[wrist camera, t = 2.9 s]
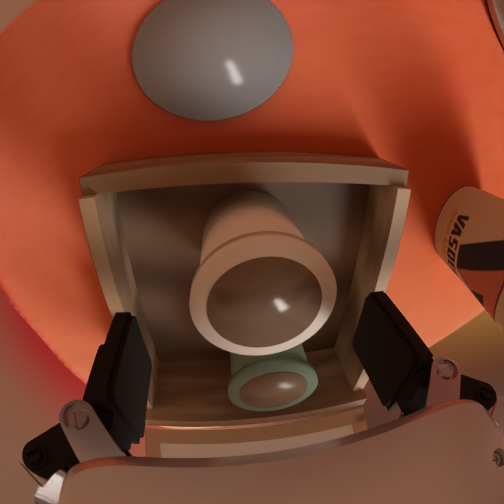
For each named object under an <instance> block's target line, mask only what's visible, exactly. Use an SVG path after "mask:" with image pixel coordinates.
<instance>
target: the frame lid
mask: <svg viewBox="0 0 504 504" xmlns="http://www.w3.org/2000/svg"><path fill="white" fill-rule="evenodd" d="M364 430H368V428H367V423H366V419H365V414H364V410H363V408H360V409H357V410H352V411H348V412H345V413H340V414H336V415H331V416H327V417H322V418H317V419H312V420H306V421H300V422H294V423H288V424H281V425H273V426H264V427H254V428H243V429H227V430H164V429H148V428H145V451H146V457H158V458H212V457H229V456H241V455H251V454H260V453H267V452H274V451H281V450H287V449H292V448H298V447H303V446H308V445H312V444H317V443H321V442H325V441H329V440H333V439H337V438H341V437H344V436H348V435H351V434H355V433H358V432H361V431H364Z"/></svg>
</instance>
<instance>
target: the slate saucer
mask: <svg viewBox="0 0 504 504" xmlns="http://www.w3.org/2000/svg"><path fill="white" fill-rule="evenodd" d="M292 57H293V39H292V35H291V31H290V28H289V26H288V23H287V21H286V20H285V18H284V16H283V15H282V13H281V12H280V11H279V10H278V8H277V7H276V6H275V5H274V4H273V3H271V2H270V1H269V0H163V1H162V2H161V3H159V4H158V5H157V6H156V7H155V8H154V9H153V10H152V11H151V12H150V13H149V14H148V15H147V17H146V18H145V19H144V20H143V22H142V24H141V25H140V27H139V29H138V31H137V34H136V36H135V39H134V43H133V49H132V65H133V70H134V74H135V77H136V79H137V82H138V83H139V85H140V87H141V89H142V90H143V91H144V93H145V94H146V95H147V96H148V97H149V98H150V99H151V100H152V101H153V102H154V103H155V104H156V105H158V106H159V107H161V108H162V109H164V110H166V111H168V112H170V113H172V114H174V115H177V116H180V117H184V118H188V119H193V120H204V121H212V120H222V119H227V118H231V117H235V116H238V115H241V114H244V113H246V112H248V111H250V110H252V109H254V108H256V107H257V106H259V105H261V104H262V103H263V102H265V101H266V100H267V99H268V98H270V97H271V96H272V95H273V94H274V93H275V92H276V91H277V89H278V88H279V87H280V85H281V84H282V83H283V81H284V79H285V77H286V76H287V74H288V71H289V69H290V66H291V62H292Z"/></svg>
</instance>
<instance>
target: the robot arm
mask: <svg viewBox="0 0 504 504" xmlns="http://www.w3.org/2000/svg"><path fill="white" fill-rule="evenodd" d="M487 3H488V8H489V11H490V15H491V18H492V21H493V23H494V26H495V29H496V31H497V34H498V36H499V39H500V41H501V43H502V45H503V47H504V0H487ZM352 346H353V349H354V351H355V353H356V354H357V356H358V358H359V360H360V362H361V364H362V366H363V368H364V370H365V372H366V374H367V375H368V377H369V379H370V381H371V383H372V385H373V387H374V389H375V391H376V393H377V395H378V397H379V399H380V401H381V403H382V405H383V406H386V407H387V409H388V411H390V410H393V409H396V408H398V407H400V409H401V414H400V418H399V419H396V420H393V421H390V422H388V423H385V424H382V425H380V426H377V427H374V428H371V429H368V430H364V431H361V432H358V433H355V434H351V435H348V436H344V437H341V438H337V439H333V440H329V441H325V442H321V443H317V444H312V445H308V446H303V447H298V448H292V449H287V450H281V451H274V452H267V453H260V454H251V455H241V456H229V457H212V458H158V457H134V456H133V455H132V454H131V453H130V451H129V450H130V448H131V443H134V444H139V441H140V437H141V438H142V437H144V431H145V420H146V410H147V401H148V393H149V385H150V378H151V371H152V362H151V359H150V356H149V353H148V351H147V348H146V345H145V342H144V339H143V337H142V334H141V331H140V328H139V325H138V322H137V318H136V316H132V315H131V313H130V312H116V313H115V315H114V318H113V321H112V323H111V326H110V329H109V332H108V335H107V338H106V341H105V344H103V345H100V346H99V348H98V351H97V354H96V357H95V360H94V363H93V366H92V369H91V373H90V376H89V379H88V382H87V386H86V389H85V393H84V396H83V400H73V401H70V402H69V403H67V404H65V405H64V407H63V408H62V409H61V412H60V414H59V421H60V423H59V424H57V425H55V426H54V427H52V428H50V429H49V430H47V431H46V432H44V433H43V434H41V435H39V436H38V437H36V438H34V439H33V440H31V441H29V442H28V443H27V444H26V445H25V447H24V449H23V453H22V458H23V461H22V463H20V462H19V461H18V462H17V463H16V465H15V466H14V467H13V468H12V470H11V471H10V472H9V473H8V475H7V476H6V477H5V478H4V480H3V481H2V482H1V483H0V504H57V503H58V504H504V399H502V398H501V397H498V398H497V397H496V392H495V390H494V389H493V387H492V386H491V385H490V384H488V383H485V382H482V381H479V380H476V379H473V378H470V377H467V376H464V375H461V371H460V368H459V366H458V364H457V363H456V362H455V361H454V360H453V359H451V358H449V357H444V356H442V357H438V358H436V359H435V360H433V359H432V356H433V354H432V353H431V352H430V350H429V349H428V348H427V346H426V345H425V343H424V342H423V341H422V339H421V338H420V337H419V335H418V334H417V333H416V331H415V330H414V329H413V327H412V326H411V325H410V324H409V322H408V321H407V320H406V318H405V317H404V316H403V315H402V313H401V312H400V311H399V310H398V308H397V307H396V306H395V304H394V303H393V302H392V301H391V300H390V298H389V297H388V296H387V295H386V293H385V292H384V291H377V292H371V293H370V294H369V295H368V296H367V297H366V298H365V302H364V305H363V309H362V312H361V315H360V319H359V322H358V325H357V328H356V331H355V335H354V338H353V341H352Z"/></svg>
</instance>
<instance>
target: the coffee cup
mask: <svg viewBox="0 0 504 504" xmlns="http://www.w3.org/2000/svg"><path fill="white" fill-rule="evenodd" d="M435 247H436V250H437V252H438V254H439V256H440V257H441V258H442V259H443V260H444V262H445V263H446V264H447V265H448V266H449V267H450V268H451V269H452V271H453V272H454V273H455V274H456V275H457V276H458V277H459V278H460V279H461V281H462V282H463V283H464V284H465V285H466V286H467V288H468V289H469V290H470V291H471V292H472V294H473V295H474V296H475V297H476V298H477V300H478V301H479V302H480V303H481V304H482V306H483V307H484V308H485V309H486V311H487V312H488V313H489V314H490V316H491V317H492V318H493V319H494V321H495V322H496V323H497V325H498V326H499V327H500V329H501V330H502V331H503V332H504V199H502V198H500V197H497V196H495V195H493V194H490V193H488V192H486V191H483V190H480V189H478V188H475V187H471V186H468V187H463V188H461V189H459V190H457V191H456V192H455V193H453V195H452V196H451V197H450V198H449V199H448V200H447V202H446V203H445V205H444V207H443V209H442V211H441V213H440V215H439V218H438V221H437V224H436V229H435Z"/></svg>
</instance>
